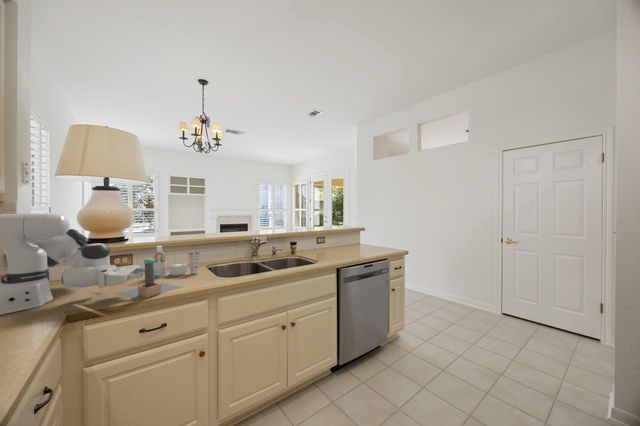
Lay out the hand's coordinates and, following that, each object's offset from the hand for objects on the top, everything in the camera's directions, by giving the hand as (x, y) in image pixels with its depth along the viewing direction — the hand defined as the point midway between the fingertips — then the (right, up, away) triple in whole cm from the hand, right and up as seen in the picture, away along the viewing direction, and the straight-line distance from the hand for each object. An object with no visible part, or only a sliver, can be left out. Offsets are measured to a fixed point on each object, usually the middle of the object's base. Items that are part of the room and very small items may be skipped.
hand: (145, 272), depth 116 cm
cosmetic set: (-6, -11, +36) cm, 38 cm away
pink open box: (+2, -11, +1) cm, 11 cm away
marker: (+2, -10, +1) cm, 10 cm away
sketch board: (-2, -11, +7) cm, 13 cm away
